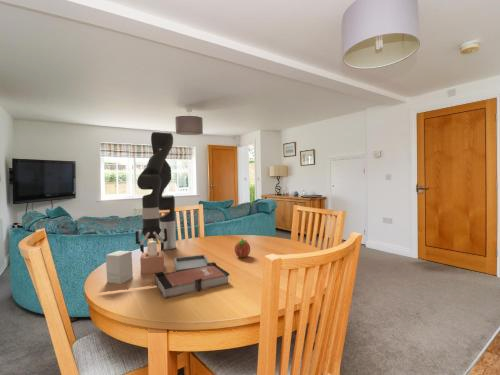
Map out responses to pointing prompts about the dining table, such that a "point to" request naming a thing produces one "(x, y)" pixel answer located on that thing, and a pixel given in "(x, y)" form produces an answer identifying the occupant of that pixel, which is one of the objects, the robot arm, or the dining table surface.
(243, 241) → the fruit
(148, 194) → the robot arm
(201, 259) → the tray
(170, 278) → the book
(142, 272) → the square hole frame
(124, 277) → the supplement box
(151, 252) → the peg
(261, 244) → the dining table surface
